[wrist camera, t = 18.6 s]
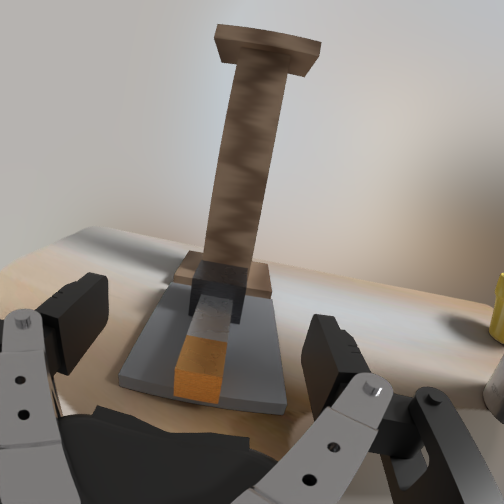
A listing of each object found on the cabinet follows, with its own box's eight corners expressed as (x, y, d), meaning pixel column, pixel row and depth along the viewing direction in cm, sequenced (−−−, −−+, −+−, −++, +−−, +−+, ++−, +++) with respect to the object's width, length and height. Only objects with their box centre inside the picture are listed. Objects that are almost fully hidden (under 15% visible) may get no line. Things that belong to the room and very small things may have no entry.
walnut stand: (265, 273, 47) (309, 48, 37) (269, 302, 38) (324, 22, 27) (188, 259, 46) (228, 33, 36) (173, 286, 37) (223, 4, 27)
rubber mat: (270, 308, 36) (272, 299, 36) (283, 414, 20) (287, 404, 20) (170, 291, 35) (170, 281, 35) (119, 386, 19) (118, 374, 19)
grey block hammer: (241, 301, 34) (247, 268, 33) (232, 406, 18) (242, 361, 17) (196, 293, 34) (201, 259, 32) (159, 392, 18) (159, 346, 17)
